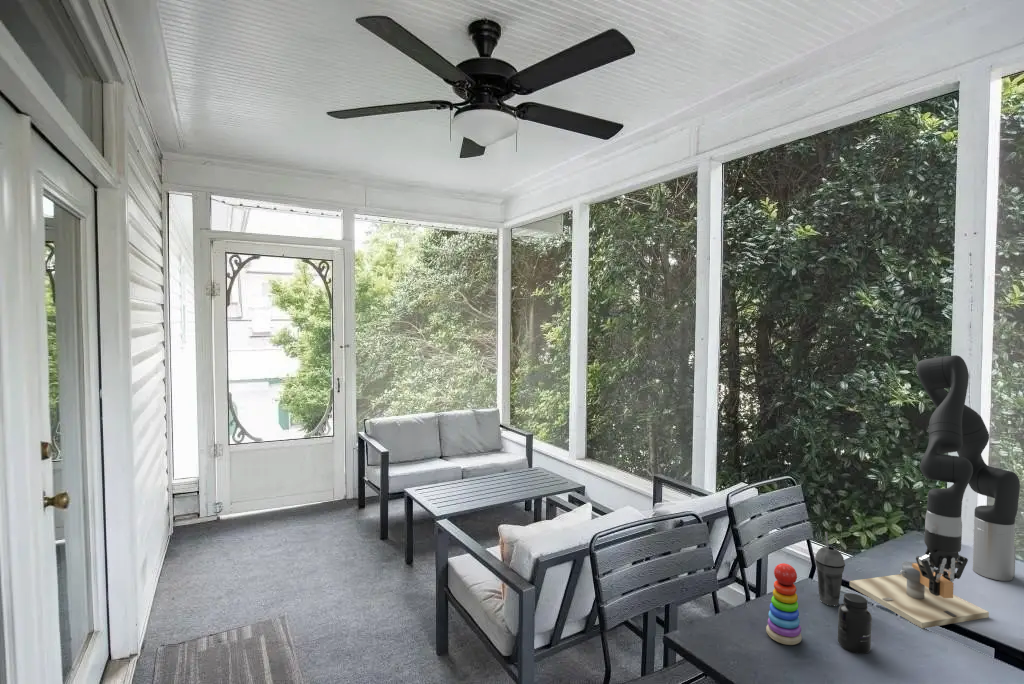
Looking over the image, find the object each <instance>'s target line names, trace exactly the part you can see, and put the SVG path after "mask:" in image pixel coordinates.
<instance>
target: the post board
mask: <svg viewBox="0 0 1024 684" xmlns="http://www.w3.org/2000/svg"><path fill="white" fill-rule="evenodd" d="M849 587H850V588H852V589H854V590H855V591H857V592H859V593H861V594H863V595H864V596H866V597H868V599H871V600H872V601H875V602H876V603H878V604H879V605H881V606H883V607H885V608H886V609H888V610H890V611H891V612H893V613H895V614H897V615H898V616H900V617H901V618H903V619H905V620H906V621H908V622H910V623H912V624H914V625H915V626H917V627H919V628H920V629H927V628H933V627H940V626H946V625H950V624H957V623H964V622H969V621H976V620H982V619H987V618H988V619H989V617H990V611H988V610H986V609H984V608H982V607H980V606H978V605H976V604H974V603H972V602H970V601H967V600H966V599H963V598H961V597H959V596H958V595H956V594H953V598H943V597H941V596H940V595H939V596H935V595H934V594H932V593H930V591H929V588H927V587H926V586H924V585H923V584H921V583H919V582H915V581H911V580H909V579H907V578H905V577H903V576H902V574H901V573H900V574H892V575H885V576H877V577H869V578H864V579H855V580H849Z"/></svg>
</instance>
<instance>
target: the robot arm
mask: <svg viewBox="0 0 1024 684" xmlns="http://www.w3.org/2000/svg"><path fill="white" fill-rule="evenodd" d="M915 367H916V369H915V370H916V375H917V377H918V379H919V381H920V383H921V385H922V387H923V389H924V391H925V392H926V394H927V395H928V397H929V399H930V401H932V404H933V405H934V407H935V410H934V411H933V413H932V414H931V415H930V418H929V422H928V444H927V447H926V450H925V452H924V454H923V457H922V458H921V461H920V464H919V465H920V466H919V470H920V472H921V474H922V475H923V477H925V479H928V480H930V481H931V480H932V481H938V482H944V483H952V484H951V486H949V487H945V488H944V487H943V488H942V487H941V488H931V489H929V490H928V491H927V492H928V493H927V503H926V513H925V521H924V544H925V546H926V551H925V552H924V555H922V556H919V555H917V556H916V557H915V560H916V563H917V564H918V566H919V569H920V571H921V574H922V576H924V577H926V578H928V579H929V591H930V593H932V594H934V595H935V596H939V595H940V577H941V576H943V577H944V578H946V579H948V580H949V581H951V582H953V583H954V581H955V580H956V579H957V580H959V579H961V577H962V574H963V572H964V571H965V567H966V566H967V564H968V562H969V558H967V557H965V556H963V555H961V554H960V552H961V550H962V536H963V535H962V534H963V521H962V520H963V519H962V511H963V510H962V509H963V507H962V506H963V499H964V495H965V492H966V489H967V487H968V485H969V487H970V488H971V490H972V491H973V492H974V493H977V494H979V495H982V496H986V497H989V498H993V499H994V502H993V505H989V504H988V505H978V506H976V507H975V508H974V517H973V518H974V519H973V545H972V547H973V548H972V549H973V550H972V571H973V572H974V573H976V574H978V575H979V576H982V577H985V578H988V579H990V580H996V581H1002V582H1008V581H1012V580H1014V577H1015V576H1016V552H1017V551H1016V549H1017V548H1016V546H1015V530H1016V529H1015V527H1016V517H1017V515H1018V508H1019V499H1020V490H1021V483H1020V478H1019V476H1018V474H1016V473H1015V472H1013V471H1010V470H1007V469H1002V468H1000V467H999V468H998V467H993V466H989V465H988V464H987V463H986V462H985V461H984V458H983V457H982V453H983V452H984V450H985V448H986V446H987V445H988V443H989V440H990V434H989V431H988V428H987V426H986V424H985V422H984V420H983V417H982V416H981V415H980V414H979V413H978V412H977V411H976V410H974V409H973V408H971V407H970V406H968V405H966V399H967V392H968V388H969V387H968V386H969V369H968V365H967V363H966V362H965V360H964V359H963V357H961V356H960V355H956V354H953V355H945V356H939V357H932V358H925V359H921V360H919V361H918V362H917V364H916V366H915ZM946 389H949V391H946ZM947 453H950V454H951V453H957V455H958V456H957V455H950V454H947ZM956 569H957V570H956ZM934 572H935V576H934V575H933V574H934Z"/></svg>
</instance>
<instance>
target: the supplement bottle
mask: <svg viewBox="0 0 1024 684" xmlns="http://www.w3.org/2000/svg"><path fill="white" fill-rule="evenodd" d="M842 602H843V603H842V604H839V607H838V612H837V613H838V614H837V615H838V616H837V642H838V644H839V645H840V646H841V647H842V648H843V649H845V650H847V651H849V652H852V653H855V654H861V655H864V654H868V653H869V652H870V651H871V649H872V627H873V626H872V625H873V624H872V623H873V619H872V614H871V612H870V611H869V610H868V600H867V599H866V598H865V597H864V596H862V595H860V594H857V593H853V592H847V593H844V595H843V599H842Z"/></svg>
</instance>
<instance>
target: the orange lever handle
mask: <svg viewBox="0 0 1024 684" xmlns="http://www.w3.org/2000/svg"><path fill="white" fill-rule="evenodd" d="M899 573H900V574H902V576H903V577H905V578H907V579H909V580H911V581H915V582H919V583H921V584H923V585H924V586H926V587H927V588H929V579H928V578H926V577H924V576H922V574H921V571H920V569H919V566H918V564H917V561H916V562H915V561H903V562H901V570H899ZM933 575H934V576H935V572H934V574H933ZM953 595H954V581H953V582H951V581H949V580H948V579H946V578H944V577H943V576H942V575H941V577H940V596H941V597H943V598H953Z"/></svg>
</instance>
